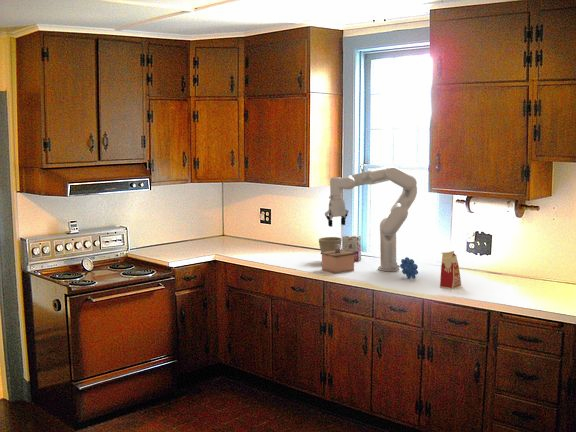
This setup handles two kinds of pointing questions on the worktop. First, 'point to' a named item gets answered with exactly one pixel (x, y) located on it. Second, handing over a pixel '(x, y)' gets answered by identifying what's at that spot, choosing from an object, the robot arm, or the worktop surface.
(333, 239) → the plant pot
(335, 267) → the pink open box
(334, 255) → the lid
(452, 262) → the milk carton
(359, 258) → the candy bar box
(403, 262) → the grapes
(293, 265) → the worktop surface
